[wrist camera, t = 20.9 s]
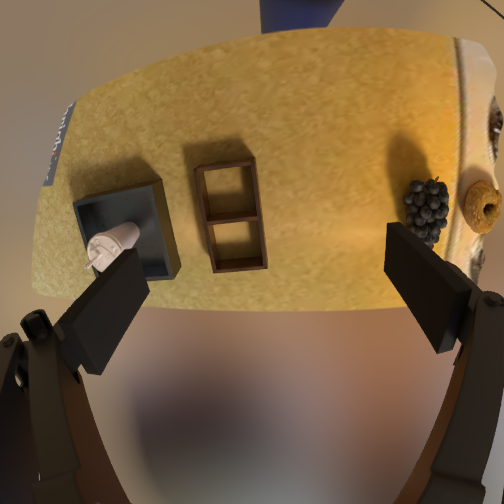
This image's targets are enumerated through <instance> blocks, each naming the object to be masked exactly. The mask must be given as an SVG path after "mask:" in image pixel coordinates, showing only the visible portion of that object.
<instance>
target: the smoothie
mask: <svg viewBox="0 0 504 504" xmlns="http://www.w3.org/2000/svg"><path fill="white" fill-rule="evenodd" d="M139 234H140V232H139V228H138V226H137V225H136V224H135V223H133V222H130V221H128V222H125V223H123V224H121V225H118V226H116V227H114V228H112V229H110V230H108V231H106V232H102V233H98V234H96V235H94V237H92V238H91V239H90V241H89V243H88V246H87V253H88V257H89V260H90V262H89V263H88V264H87V265H86V266H85V269H86V270H87V269H88V268H89V267H91V266H92V265H93V266H94V267H95V268H96V269H97V270H99V271H100V272H103V271H104V270H105V269H106V268H107V267H108V266H109V265H110V264H111V263H112V262H113V260H114V259H115V258H116V257H117V256H118V255H119V254H120V253H121V252H122V251H123V250H124V249H130V248H132V247H133V245H134V244H135V242H136V240H137V239H138V237H139Z"/></svg>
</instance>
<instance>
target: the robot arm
mask: <svg viewBox="0 0 504 504" xmlns="http://www.w3.org/2000/svg"><path fill="white" fill-rule="evenodd" d="M481 1H482V2H483V3H485V4H486V5H487V6H488V7H490V8H491V9H492V10H493V11H495V12H496V13H497V14H498V15H499V16H501V17H502V18H503V19H504V16H503V15H501V14H500V13H499V12H498V11H497V10H496V9H494V8H493V7H492V6H491V5H490V4H488V3H487V2H486V1H485V0H481ZM384 272H385V273H386V275H387V276H388V278H389V279H390V281H391V282H392V284H393V285H394V286H395V288H396V289H397V291H398V292H399V294H400V295H401V297H402V298H403V300H404V301H405V303H406V304H407V306H408V307H409V309H410V311H411V312H412V314H413V315H414V317H415V318H416V320H417V322H418V323H419V325H420V326H421V328H422V330H423V331H424V333H425V335H426V336H427V338H428V340H429V341H430V343H431V345H432V346H433V348H434V350H435V352H436V353H437V354H439V353H443V352H447V351H450V350H453V347H454V344H455V342H456V339H457V338H458V339H459V341H460V342H461V347H460V349H459V352H458V354H457V357H456V359H455V361H454V364H453V365H455V367H454V370H453V374H452V377H451V380H450V383H449V387H448V389H447V393H446V395H445V399H444V401H443V404H442V407H441V410H440V412H439V414H438V417H437V419H436V422H435V424H434V427H433V429H432V431H431V434H430V436H429V438H428V441H427V443H426V445H425V447H424V449H423V451H422V453H421V455H420V458H419V460H418V461H417V463H416V465H415V467H414V469H413V471H412V473H411V475H410V476H409V478H408V480H407V482H406V484H405V485H404V487H403V489H402V490H401V492H400V494H399V495H398V497H397V499H396V500H395V502H394V503H393V504H482V503H483V500H484V496H485V493H486V491H485V487H484V486H483V485H482V484H481V480H482V476H483V473H484V470H485V467H486V464H487V461H488V458H489V454H490V450H491V447H492V443H493V439H494V435H495V431H496V427H497V422H498V417H499V412H500V407H501V400H502V395H503V387H504V298H503V297H502V296H501V295H499V294H498V293H495V292H492V291H484V292H483V291H482V290H480V288H479V287H478V286H477V285H476V284H475V283H474V282H473V281H472V280H471V279H470V278H467V276H466V275H465V274H464V273H462V271H461V270H460V269H459V268H458V267H457V266H456V265H454V264H452V263H450V262H448V261H444V260H443V259H441V258H440V257H439V256H438V255H437V254H436V253H435V252H434V251H433V250H432V249H431V248H429V247H428V246H427V245H426V244H425V243H424V242H423V241H422V240H420V239H419V238H418V237H417V236H416V235H415V234H414V233H412V232H411V231H410V230H409V229H408V228H407V227H405V226H404V225H403V224H402V223H401V222H393V223H387V234H386V250H385V262H384ZM149 292H150V290H149V287H148V284H147V281H146V278H145V275H144V271H143V268H142V265H141V262H140V258H139V255H138V251H137V248H130V249H124V250H123V251H122V252H121V253H120V254H119V255H118V256H117V257H116V258H115V259H114V260H113V262H112V263H111V264H110V265H109V266H108V267H107V268H106V269H105V270H104V271H103V272H102V273H101V274H100V275H99V276H98V277H97V278H96V279H95V280H94V281H93V283H92V284H91V285H90V286H89V287H88V288H87V289H86V290H85V291H84V292H83V293H82V295H81V296H80V297H79V298H78V299H76V300H75V301H74V303H73V304H72V305H71V307H69V308H68V309H67V311H66V312H65V313H64V314H63V315H62V317H61V318H60V319H59V320H58V321H57V322H56V323H55V325H54V326H52V324H51V323H50V320H49V319H48V317H47V315H46V313H45V311H44V310H42V309H38V310H35V311H32V312H31V313H29V314H27V315H26V316H25V317H24V318H23V319H22V320H21V323H20V325H21V327H22V328H23V330H24V332H25V334H26V336H27V337H28V339H29V341H24V342H22V340H21V338H20V336H19V335H18V333H11V334H8V335H6V336H4V337H3V339H2V340H1V341H0V504H131V503H130V501H129V499H128V498H127V496H126V494H125V492H124V490H123V488H122V486H121V484H120V482H119V480H118V477H117V476H116V473H115V471H114V469H113V466H112V464H111V462H110V459H109V457H108V455H107V452H106V450H105V447H104V445H103V442H102V440H101V437H100V434H99V431H98V429H97V426H96V423H95V420H94V417H93V414H92V411H91V408H90V405H89V401H88V398H87V395H86V391H85V388H84V384H83V380H82V376H81V374H80V372H79V371H78V367H79V366H80V364H82V366H83V367H84V369H85V371H86V372H87V373H88V374H94V375H101V374H102V372H103V371H104V369H105V367H106V365H107V363H108V362H109V360H110V358H111V356H112V354H113V353H114V351H115V349H116V347H117V346H118V344H119V342H120V340H121V339H122V337H123V335H124V334H125V332H126V330H127V329H128V327H129V325H130V323H131V322H132V320H133V318H134V317H135V315H136V313H137V312H138V310H139V309H140V307H141V305H142V304H143V302H144V300H145V299H146V297H147V296H148V294H149ZM15 375H16V376H17V378H18V379H19V380H20V382H21V385H20V386H19V385H18V384H17V382H16V379H15ZM39 473H40V481H39ZM502 504H504V489H503V497H502Z"/></svg>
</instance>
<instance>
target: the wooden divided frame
mask: <svg viewBox="0 0 504 504" xmlns="http://www.w3.org/2000/svg"><path fill="white" fill-rule="evenodd" d="M247 165H251V171H252V178H253V186H254V194H255V202H256V210H249V211H240V212H231V213H223V214H214V215H211V212H210V207H209V201H208V195H207V189H206V183H205V177H204V171H210V170H216V169H224V168H231V167H239V166H247ZM194 175H195V180H196V186H197V192H198V197H199V203H200V208H201V214H202V219H203V225H204V230H205V235H206V240H207V245H208V250H209V255H210V260H211V265H212V270H213V273H226V272H237V271H249V270H260V269H268V258H267V250H266V241H265V232H264V224H263V215H262V207H261V199H260V191H259V183H258V175H257V167H256V159H255V158H250V159H242V160H234V161H226V162H219V163H213V164H206V165H200V166H198V167H196V168H194ZM252 220H258V226H259V234H260V242H261V250H262V257H252V258H241V259H231V260H220V261H219V256H218V251H217V245H216V240H215V235H214V229H213V225H216V224H225V223H234V222H243V221H252Z"/></svg>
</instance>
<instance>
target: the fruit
mask: <svg viewBox="0 0 504 504" xmlns="http://www.w3.org/2000/svg"><path fill="white" fill-rule="evenodd" d="M438 178H439V177H438V176H437V178H436V179H435V181H434V180H433V179H428V180H427V182H426V185H425V184H424V182H423V181H421V180H412V181H411V183H410V190H411V192H409V193H406V194H405V196H404V198H403V203H404V204H405V205H406V206H407V207H406V210H407V212H408V214H407V217H406V222H407V224H409V226H407V228H408V229H409V230H410V231H411V232H412V233H414V234H415V235H416V236H417V237H418V238H419V239H420V240H422V241H423V242H424V243H425V244H426V245H427V246H428V247H429V248H431V249H433V247H434V245H433V244H434V243H437V242H438V241H439V235H440V233H441V230H440V228H441V229H442V228H445V227H446V225H447V220H446V219H445V218H446V216H447V215H448V212H449V207H448V201H449V200H448V199H449V194H448V192H447V190H448V189H447V187H446V185H445V183H444V182H437V180H438Z"/></svg>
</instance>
